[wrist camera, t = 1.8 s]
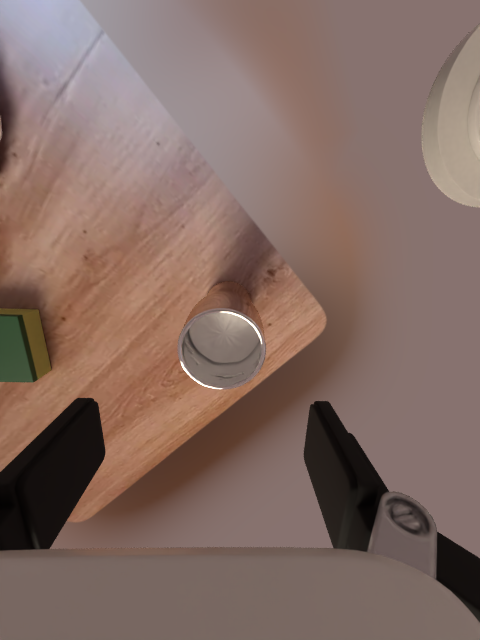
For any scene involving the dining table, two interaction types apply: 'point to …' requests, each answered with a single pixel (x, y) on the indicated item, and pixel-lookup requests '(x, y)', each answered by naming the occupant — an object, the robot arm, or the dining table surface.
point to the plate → (0, 129)
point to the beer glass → (223, 338)
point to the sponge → (22, 346)
